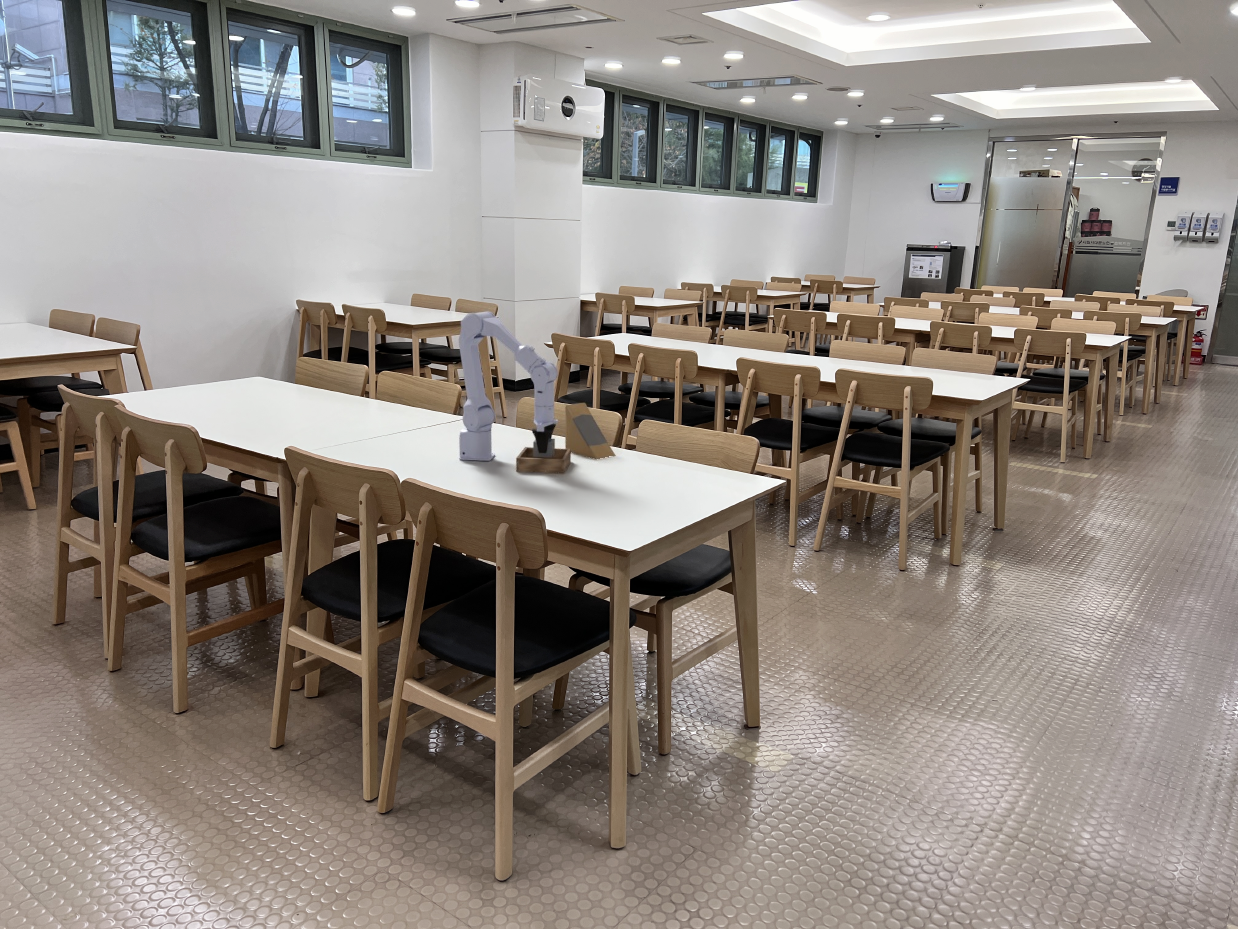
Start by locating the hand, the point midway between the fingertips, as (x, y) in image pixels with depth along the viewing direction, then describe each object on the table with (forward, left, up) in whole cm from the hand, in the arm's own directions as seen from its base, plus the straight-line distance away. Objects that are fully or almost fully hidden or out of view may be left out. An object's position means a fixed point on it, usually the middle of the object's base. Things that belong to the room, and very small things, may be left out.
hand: (544, 450), depth 257 cm
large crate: (0, 0, -5) cm, 5 cm away
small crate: (0, 0, -1) cm, 1 cm away
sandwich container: (+12, +19, -5) cm, 23 cm away
